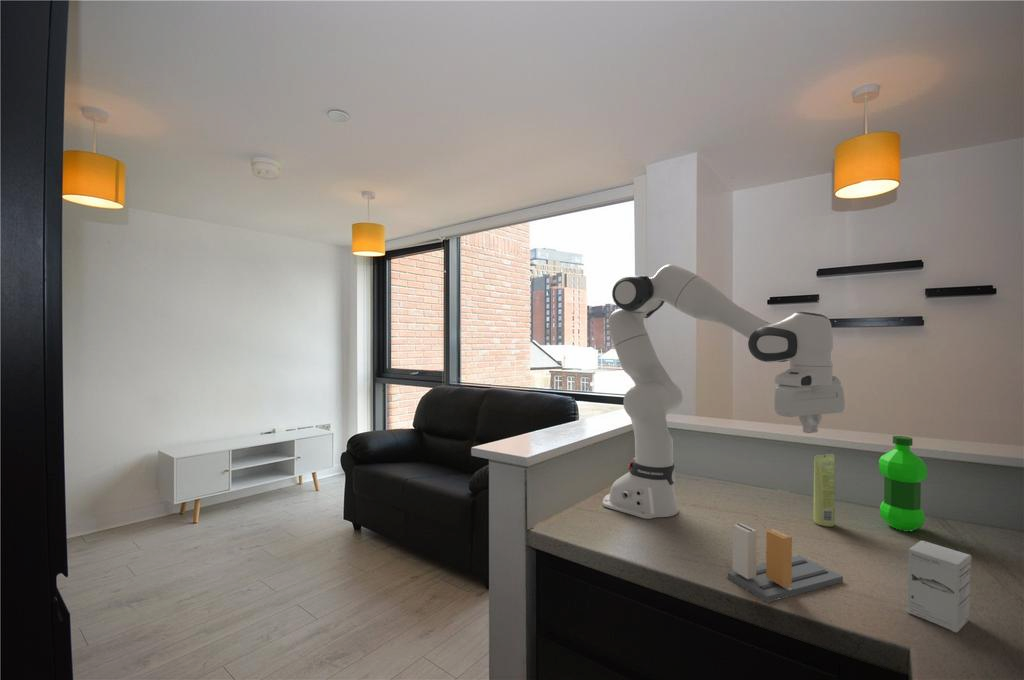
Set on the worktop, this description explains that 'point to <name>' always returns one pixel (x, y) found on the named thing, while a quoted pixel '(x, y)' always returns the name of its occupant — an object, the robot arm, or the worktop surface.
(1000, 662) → the worktop surface
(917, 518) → the plastic bottle
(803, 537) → the worktop surface
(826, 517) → the tube
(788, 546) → the fader orange
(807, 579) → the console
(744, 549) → the fader white
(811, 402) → the robot arm
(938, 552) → the supplement box
